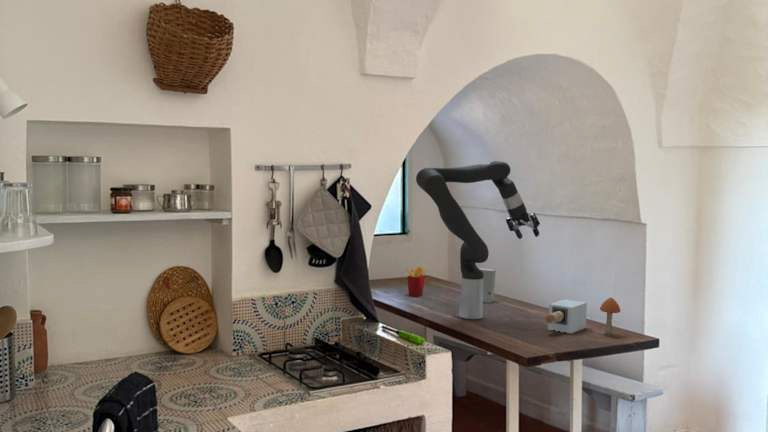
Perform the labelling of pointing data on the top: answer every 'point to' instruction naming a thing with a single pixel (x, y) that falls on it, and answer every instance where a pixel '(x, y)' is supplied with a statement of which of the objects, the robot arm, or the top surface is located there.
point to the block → (569, 316)
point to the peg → (555, 317)
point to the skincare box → (488, 284)
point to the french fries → (416, 282)
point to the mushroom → (609, 313)
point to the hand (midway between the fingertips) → (529, 236)
